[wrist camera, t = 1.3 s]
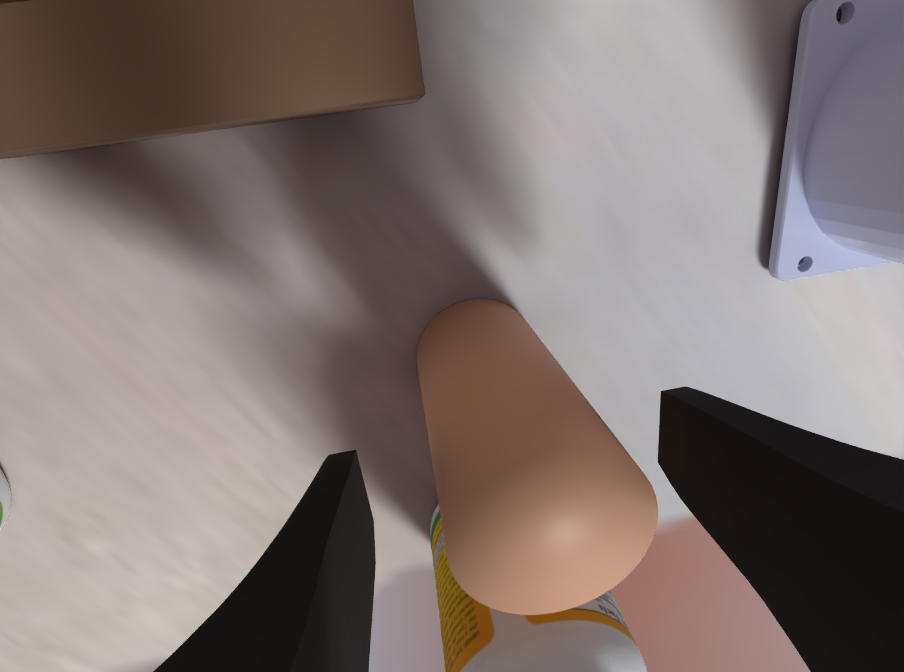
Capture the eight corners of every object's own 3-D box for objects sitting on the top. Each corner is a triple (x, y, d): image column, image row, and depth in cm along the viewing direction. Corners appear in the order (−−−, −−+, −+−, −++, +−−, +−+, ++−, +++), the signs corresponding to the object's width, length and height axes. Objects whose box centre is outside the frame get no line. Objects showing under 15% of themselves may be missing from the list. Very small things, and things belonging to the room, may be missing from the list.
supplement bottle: (536, 436, 18) (687, 728, 9) (579, 534, 20) (735, 846, 11) (403, 496, 18) (426, 837, 9) (460, 586, 20) (521, 932, 12)
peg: (530, 289, 16) (662, 426, 8) (537, 396, 17) (653, 590, 10) (407, 310, 15) (431, 471, 8) (426, 417, 17) (461, 632, 10)
